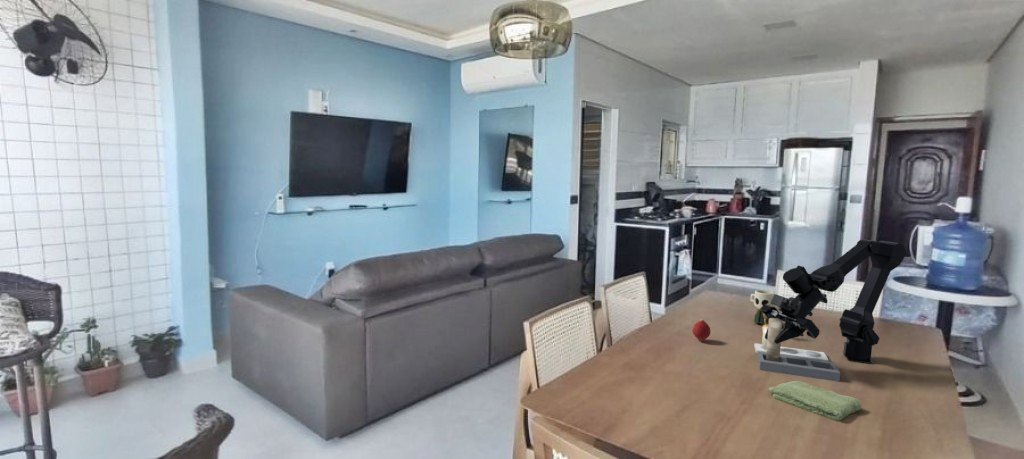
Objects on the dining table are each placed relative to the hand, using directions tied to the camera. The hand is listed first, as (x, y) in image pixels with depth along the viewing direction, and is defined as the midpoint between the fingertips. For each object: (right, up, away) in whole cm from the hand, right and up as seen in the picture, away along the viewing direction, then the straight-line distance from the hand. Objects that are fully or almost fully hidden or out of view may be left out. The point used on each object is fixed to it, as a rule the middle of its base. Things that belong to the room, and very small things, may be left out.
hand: (770, 340), depth 150 cm
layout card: (+12, -7, +12) cm, 18 cm away
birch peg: (+1, -6, +1) cm, 7 cm away
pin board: (+7, -8, -1) cm, 11 cm away
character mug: (+20, -4, +44) cm, 49 cm away
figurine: (+15, -5, +31) cm, 34 cm away
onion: (-12, -6, +23) cm, 27 cm away
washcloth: (-1, -11, -23) cm, 25 cm away
